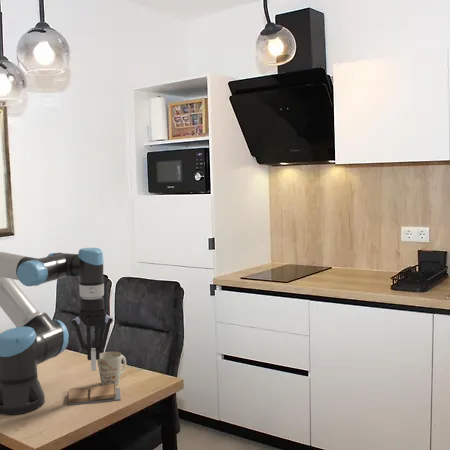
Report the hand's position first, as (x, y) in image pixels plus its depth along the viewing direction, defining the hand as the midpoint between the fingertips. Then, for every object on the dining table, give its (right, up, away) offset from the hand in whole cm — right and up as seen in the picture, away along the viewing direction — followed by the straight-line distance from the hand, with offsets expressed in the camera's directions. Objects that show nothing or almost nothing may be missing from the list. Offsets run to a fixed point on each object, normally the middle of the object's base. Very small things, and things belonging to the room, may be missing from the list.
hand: (93, 369), depth 186 cm
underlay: (0, -9, 0) cm, 9 cm away
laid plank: (-5, -9, 0) cm, 10 cm away
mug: (+4, -8, +14) cm, 16 cm away
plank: (+3, -8, +1) cm, 9 cm away
